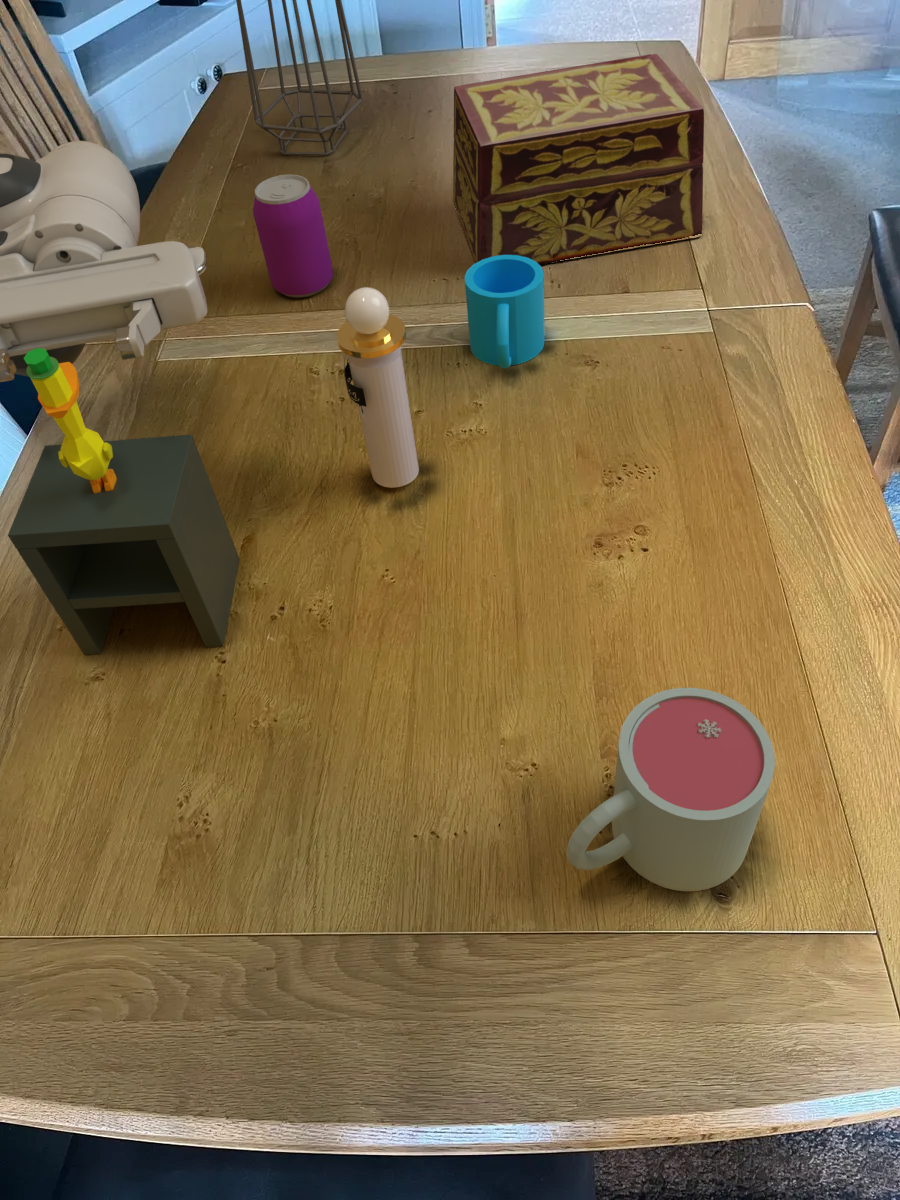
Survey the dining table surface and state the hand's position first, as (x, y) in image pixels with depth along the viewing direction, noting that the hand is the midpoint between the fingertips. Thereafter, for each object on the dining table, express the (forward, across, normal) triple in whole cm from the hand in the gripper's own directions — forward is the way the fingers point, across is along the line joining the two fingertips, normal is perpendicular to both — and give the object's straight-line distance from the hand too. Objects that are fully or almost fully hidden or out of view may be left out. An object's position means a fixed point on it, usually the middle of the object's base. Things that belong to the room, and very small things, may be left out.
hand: (63, 362), depth 67 cm
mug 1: (-23, -37, -23) cm, 49 cm away
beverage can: (-45, -16, -23) cm, 53 cm away
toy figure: (+4, 0, -8) cm, 9 cm away
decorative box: (-48, -51, -23) cm, 74 cm away
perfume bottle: (-7, -22, -23) cm, 33 cm away
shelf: (+4, 0, -23) cm, 23 cm away
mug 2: (+34, -34, -23) cm, 54 cm away
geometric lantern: (-83, -21, -23) cm, 89 cm away
